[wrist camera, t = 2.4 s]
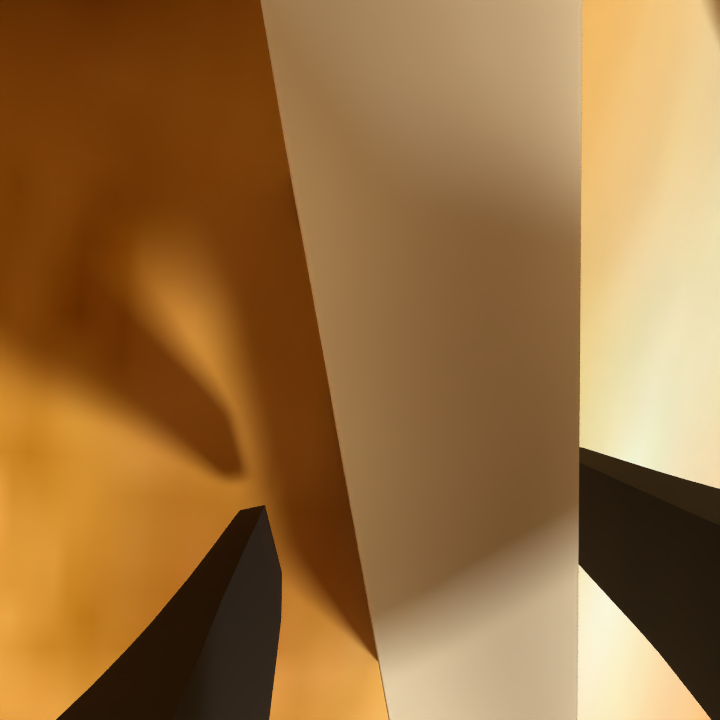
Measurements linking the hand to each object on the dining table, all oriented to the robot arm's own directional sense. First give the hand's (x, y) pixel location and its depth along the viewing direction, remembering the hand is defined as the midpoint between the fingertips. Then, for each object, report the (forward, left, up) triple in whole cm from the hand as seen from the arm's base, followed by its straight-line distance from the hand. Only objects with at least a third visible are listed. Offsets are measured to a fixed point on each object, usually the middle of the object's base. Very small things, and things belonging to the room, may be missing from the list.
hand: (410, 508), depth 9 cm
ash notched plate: (0, 0, -2) cm, 2 cm away
